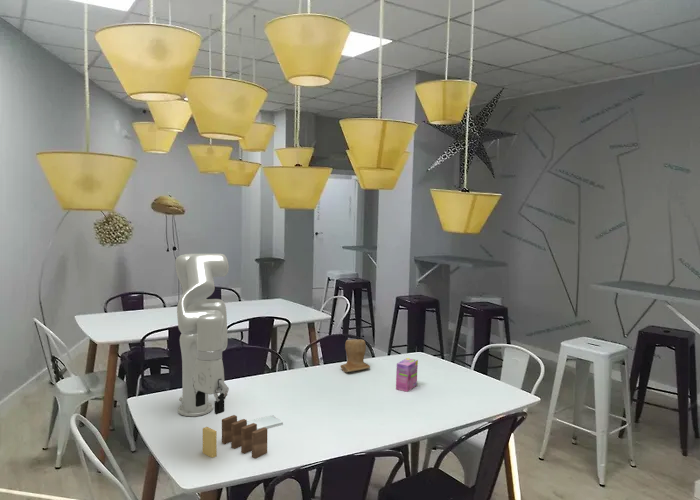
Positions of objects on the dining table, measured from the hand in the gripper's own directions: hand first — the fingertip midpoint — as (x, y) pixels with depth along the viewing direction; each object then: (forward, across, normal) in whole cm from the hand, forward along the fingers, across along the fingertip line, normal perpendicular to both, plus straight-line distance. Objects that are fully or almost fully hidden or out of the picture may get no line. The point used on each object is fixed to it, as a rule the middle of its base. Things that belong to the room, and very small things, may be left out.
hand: (209, 409), depth 159 cm
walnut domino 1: (+15, -4, +10) cm, 18 cm away
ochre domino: (+15, -1, 0) cm, 15 cm away
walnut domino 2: (+15, +1, +10) cm, 18 cm away
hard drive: (+15, -6, +26) cm, 31 cm away
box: (+14, +11, +95) cm, 97 cm away
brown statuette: (+13, -23, +100) cm, 104 cm away
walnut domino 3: (+15, +6, +10) cm, 19 cm away
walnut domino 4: (+15, +11, +10) cm, 21 cm away
